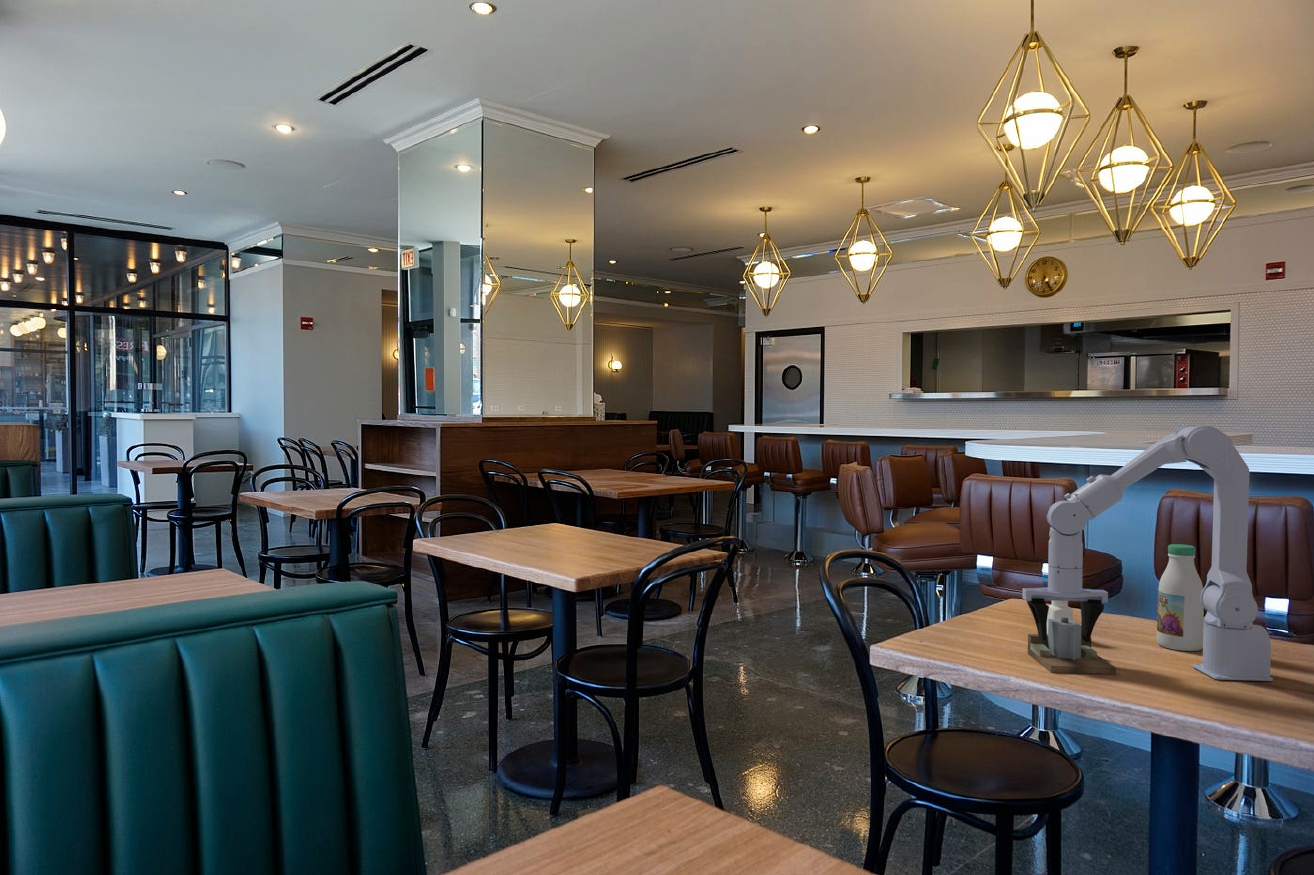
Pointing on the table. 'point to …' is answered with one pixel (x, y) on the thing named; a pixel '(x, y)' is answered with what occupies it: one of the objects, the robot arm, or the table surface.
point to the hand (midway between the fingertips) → (1063, 639)
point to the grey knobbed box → (1064, 638)
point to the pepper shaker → (1059, 611)
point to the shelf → (1067, 665)
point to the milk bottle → (1180, 602)
